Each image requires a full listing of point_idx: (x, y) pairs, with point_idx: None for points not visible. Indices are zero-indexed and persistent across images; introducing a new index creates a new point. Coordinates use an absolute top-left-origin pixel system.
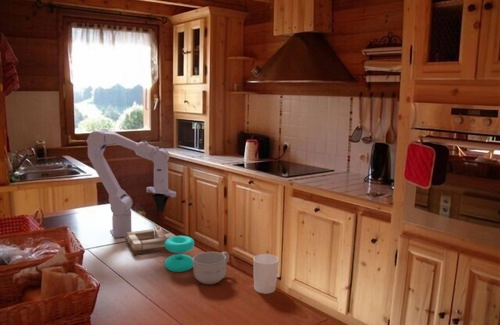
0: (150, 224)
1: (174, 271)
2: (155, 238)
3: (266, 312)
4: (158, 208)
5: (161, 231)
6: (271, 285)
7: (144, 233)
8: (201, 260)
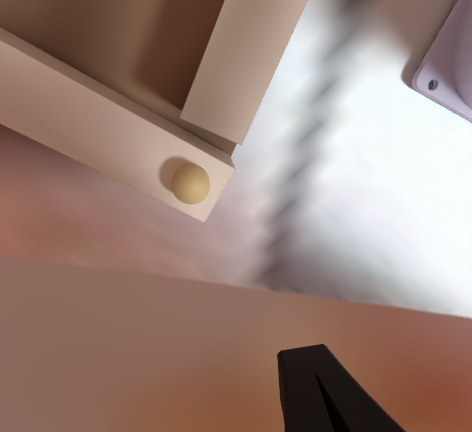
0: (456, 301)
1: None
2: (143, 94)
3: None
4: (324, 384)
5: (95, 151)
6: None
7: (221, 10)
8: None
